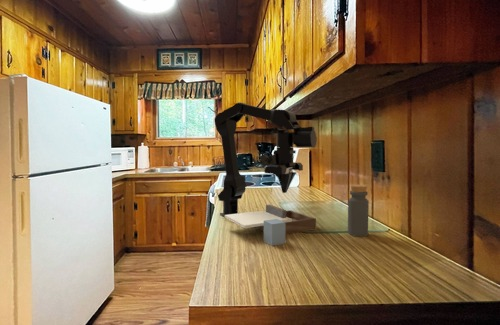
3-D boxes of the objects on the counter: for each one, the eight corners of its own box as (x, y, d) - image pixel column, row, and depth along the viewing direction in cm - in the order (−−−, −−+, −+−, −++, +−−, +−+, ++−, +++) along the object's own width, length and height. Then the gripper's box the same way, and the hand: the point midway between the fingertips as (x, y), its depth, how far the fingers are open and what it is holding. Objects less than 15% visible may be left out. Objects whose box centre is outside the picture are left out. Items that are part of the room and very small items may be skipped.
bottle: (364, 231, 94) (365, 184, 94) (370, 237, 89) (371, 187, 88) (345, 231, 95) (346, 184, 94) (350, 236, 89) (351, 186, 88)
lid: (224, 217, 97) (224, 207, 97) (267, 212, 105) (267, 203, 105) (244, 228, 85) (244, 217, 84) (291, 221, 92) (292, 211, 92)
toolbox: (252, 225, 102) (252, 214, 102) (290, 219, 109) (290, 210, 109) (274, 236, 90) (274, 224, 89) (315, 229, 97) (316, 218, 97)
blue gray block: (263, 241, 85) (263, 220, 84) (276, 239, 87) (276, 218, 86) (271, 246, 81) (271, 224, 80) (285, 243, 83) (285, 222, 83)
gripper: (276, 147, 114) (275, 187, 115) (250, 147, 98) (250, 194, 99) (303, 147, 108) (303, 190, 109) (281, 147, 93) (280, 197, 93)
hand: (284, 192), depth 103 cm, fingers closed
